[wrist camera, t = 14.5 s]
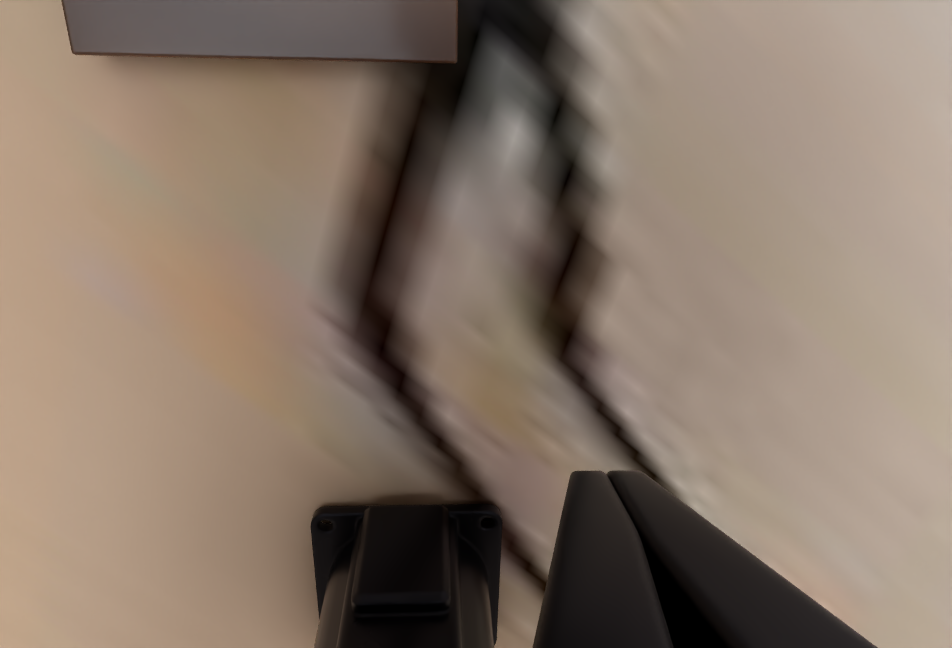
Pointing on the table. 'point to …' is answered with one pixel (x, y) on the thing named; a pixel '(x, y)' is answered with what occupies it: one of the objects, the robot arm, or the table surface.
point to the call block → (267, 29)
